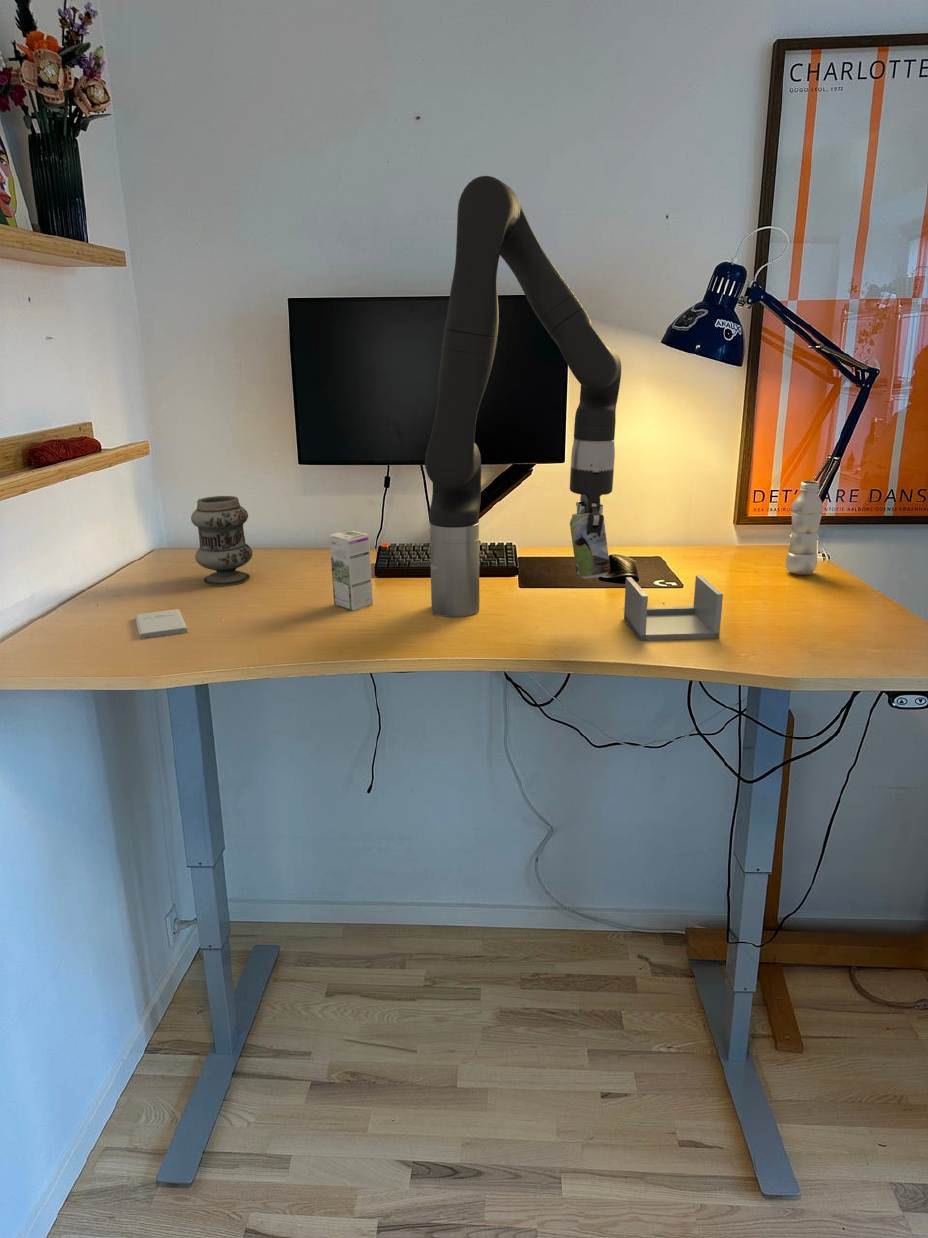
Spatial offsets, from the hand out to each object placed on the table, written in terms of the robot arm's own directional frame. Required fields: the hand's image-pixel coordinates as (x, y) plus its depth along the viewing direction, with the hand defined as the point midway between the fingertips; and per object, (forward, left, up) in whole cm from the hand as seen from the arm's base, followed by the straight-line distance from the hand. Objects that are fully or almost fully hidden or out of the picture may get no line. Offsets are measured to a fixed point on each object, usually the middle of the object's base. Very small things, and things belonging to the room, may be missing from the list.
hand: (586, 560), depth 159 cm
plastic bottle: (+52, +27, -12) cm, 60 cm away
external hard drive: (-79, +4, -12) cm, 80 cm away
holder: (+14, -6, -11) cm, 19 cm away
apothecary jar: (-73, +34, -12) cm, 81 cm away
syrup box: (-44, +13, -12) cm, 47 cm away
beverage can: (0, -3, -3) cm, 4 cm away
